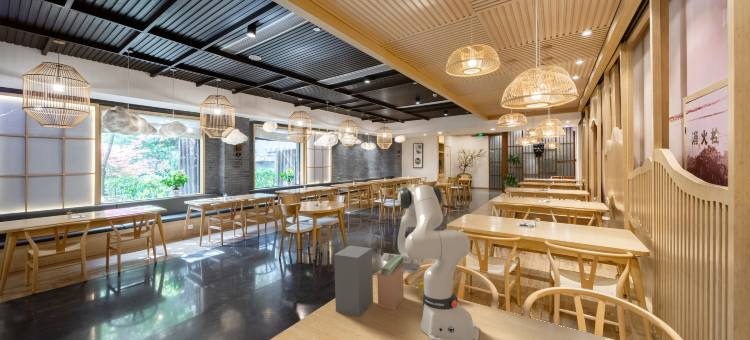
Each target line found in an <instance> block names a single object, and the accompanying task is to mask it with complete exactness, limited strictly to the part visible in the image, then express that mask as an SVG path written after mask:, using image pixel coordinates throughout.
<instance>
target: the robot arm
mask: <svg viewBox="0 0 750 340" xmlns="http://www.w3.org/2000/svg"><path fill="white" fill-rule="evenodd" d="M442 193H443V192H442V191H441V189H440V188H439V186H433V185H432V186H430V185H427V184H420V185H419V186H410V187H403V188H400V189H399V191H398V194H397V203H398V204H399V207H401V208H402V209H405V213H404V214H402V215H401V216H400V218H399V220H398V224H397V229H396V234H395V239H394V241H393V246H392V247H393V250H394V252H395V253H393V254H392V253H383V254H382V261H384V262H386V263H387V262H388V261H390V260H391V259H392V258H393V257H394V256H395V255H396V254H397V255H400V256H403V262H402V263H401V265H400V266H403V272H405V273H407V274H411V275H412V274H413V275H414V274H416V273H418V271H420V270H421V267H422V262H423V261H433V260H436V261H435V263H433V264H432V265H431V266H429V267H428V268H426V269H425V271H424V272H423V282H424V291H423V300H422V305H423V312H422V317H421V318H422V319H421V322H420V329H421V331H423V333H425V334H426V335H427V336H428V338H429V340H479V339H480V329H479V326H478V325H477V324H476V323H475V322H473V317H472V315H471V313H470V312H469V311H468V310H467V309H465V308H464V307H463V306H462V305H460V304H459V302H458V294H454V292H453V293H452V282H453V279H454V273H455V271H456V269H457V267H458V264H459V263H460V261H462V259H464V258H465V257H466V256H468V254H469V251H470V249H471V243H470V242H471V241H470V239H469V237H468V235H467V234H466V233H465V232H463V231H460V230H453V229H452V230H451V229H449V230H435V229H437V228H438V227H439V226H440V225H441V224H442V223H443V220H444V215H443V211H442V208H441V204H442V202H443V194H442ZM407 228H414V229H413V230H412V231H411V232H410V233H409V234H408V235H407V237H406V236H405V235H406V231H407V230H406V229H407Z"/></svg>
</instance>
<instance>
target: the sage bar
mask: <svg viewBox="0 0 750 340" xmlns="http://www.w3.org/2000/svg"><path fill="white" fill-rule="evenodd" d="M400 255H401V254H395V256H394V257H393V258H392V259H391V260H390V261H388V262H386V263H385V264H384V265H383V266H381V267H380V271H381V275H386V276H390V275H391V274H392V273H393V272H394V271H395V270H396V269H397V268H398V267H399V266H400V265H401V263H402V262H403V256H400Z"/></svg>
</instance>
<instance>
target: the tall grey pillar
mask: <svg viewBox="0 0 750 340" xmlns="http://www.w3.org/2000/svg"><path fill="white" fill-rule="evenodd" d="M333 256H334V257H333V260H334V261H333V262H334V263H333V265H334V286H335V287H334V295H335V312H337V313H341V314H346V315H349V316H353V317H357V318H359V317H361V316H362V315H363V314H364V313H365V312H366V310H367V309H368V308H369V307H370V306H372V304H373V303H374V284H373V282H374V279H373V277H374V275H373V248H372V247H364V246H357V245H348V246H347V247H344V248H343V249H341V250H340V251H338V252H335V253H334V254H333Z"/></svg>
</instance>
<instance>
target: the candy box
mask: <svg viewBox="0 0 750 340" xmlns="http://www.w3.org/2000/svg"><path fill="white" fill-rule="evenodd" d="M418 289H419V290H418V291H419V292H418V299H419V300H420V301H423V291H424V281H420V282H418ZM452 293H453V294H454V283H453V281H452Z"/></svg>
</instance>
